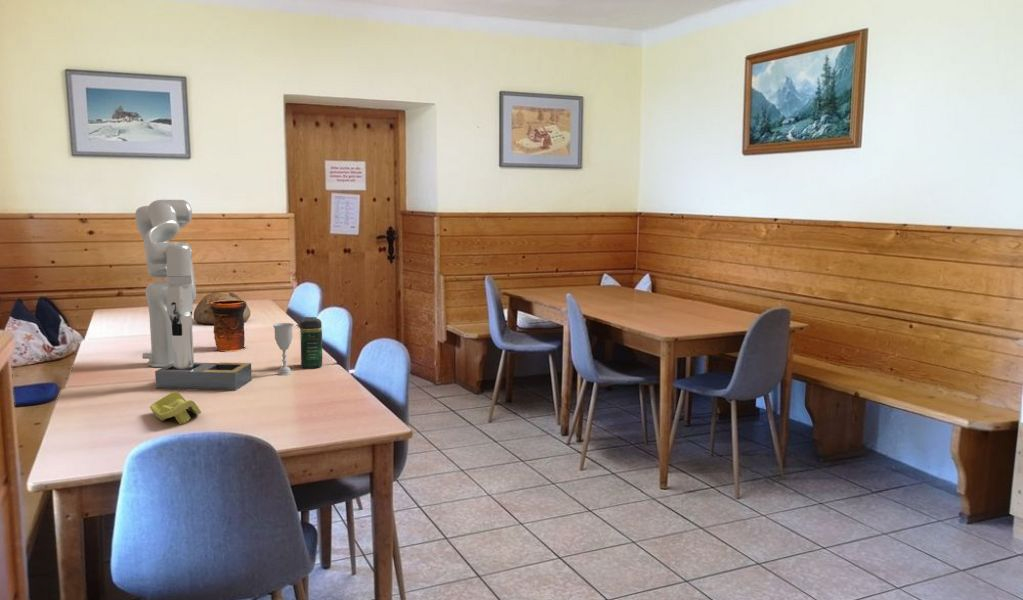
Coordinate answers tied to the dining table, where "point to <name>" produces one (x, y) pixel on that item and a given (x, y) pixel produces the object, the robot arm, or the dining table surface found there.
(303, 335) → the coffee jar
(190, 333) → the silver long cylinder
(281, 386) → the dining table surface
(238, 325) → the vessel
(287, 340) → the chalice
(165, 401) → the plastic component
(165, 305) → the robot arm
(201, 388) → the dock
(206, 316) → the bread
